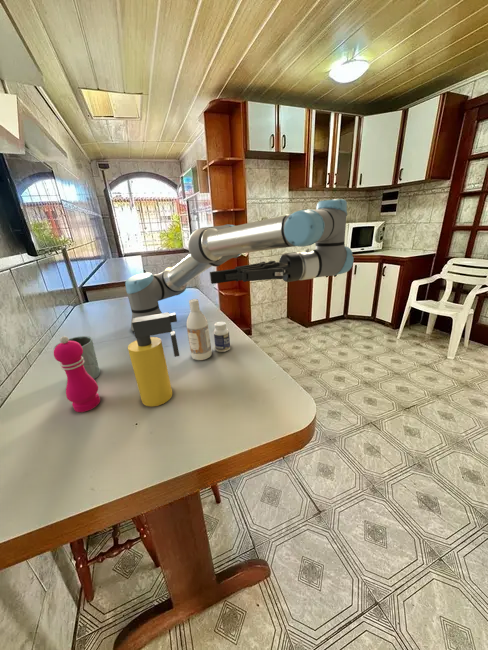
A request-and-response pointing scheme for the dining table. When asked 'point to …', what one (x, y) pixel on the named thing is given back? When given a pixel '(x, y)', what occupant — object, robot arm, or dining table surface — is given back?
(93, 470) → the dining table surface
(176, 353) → the trigger
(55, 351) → the pepper mill
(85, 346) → the gray cup
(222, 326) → the pill bottle
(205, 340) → the bath foam
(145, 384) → the spray bottle
